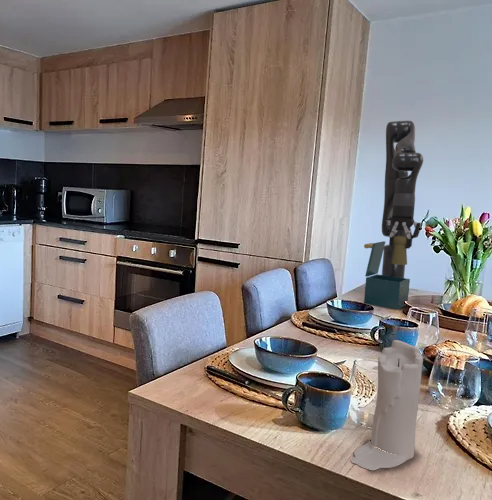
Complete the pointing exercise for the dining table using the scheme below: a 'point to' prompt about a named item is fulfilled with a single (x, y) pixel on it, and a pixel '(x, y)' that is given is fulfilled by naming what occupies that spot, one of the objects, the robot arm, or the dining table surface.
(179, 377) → the dining table surface
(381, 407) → the candle
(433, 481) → the dining table surface
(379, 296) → the bin
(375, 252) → the bin lid
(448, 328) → the dining table surface
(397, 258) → the cork
